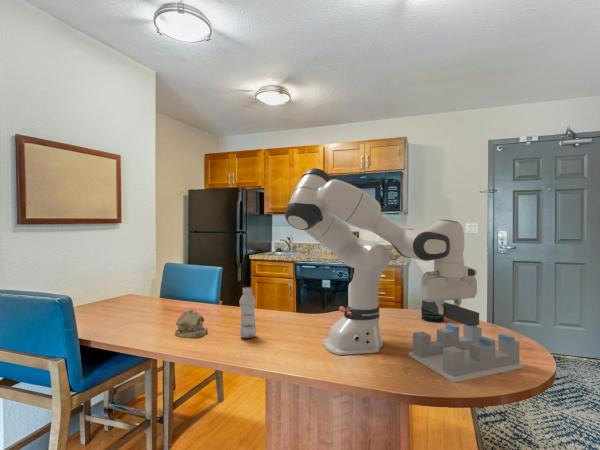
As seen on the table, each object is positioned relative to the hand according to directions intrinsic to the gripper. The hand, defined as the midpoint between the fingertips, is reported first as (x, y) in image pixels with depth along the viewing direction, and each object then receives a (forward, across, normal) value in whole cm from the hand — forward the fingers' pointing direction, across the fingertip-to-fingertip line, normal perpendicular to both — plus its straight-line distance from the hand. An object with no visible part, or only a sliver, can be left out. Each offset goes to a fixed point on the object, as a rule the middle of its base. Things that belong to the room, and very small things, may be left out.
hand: (448, 313), depth 104 cm
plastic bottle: (+18, -56, +47) cm, 76 cm away
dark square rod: (+1, 0, 0) cm, 1 cm away
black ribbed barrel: (+16, +29, +39) cm, 51 cm away
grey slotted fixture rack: (+16, +6, 0) cm, 17 cm away
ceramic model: (+18, -78, +61) cm, 100 cm away
